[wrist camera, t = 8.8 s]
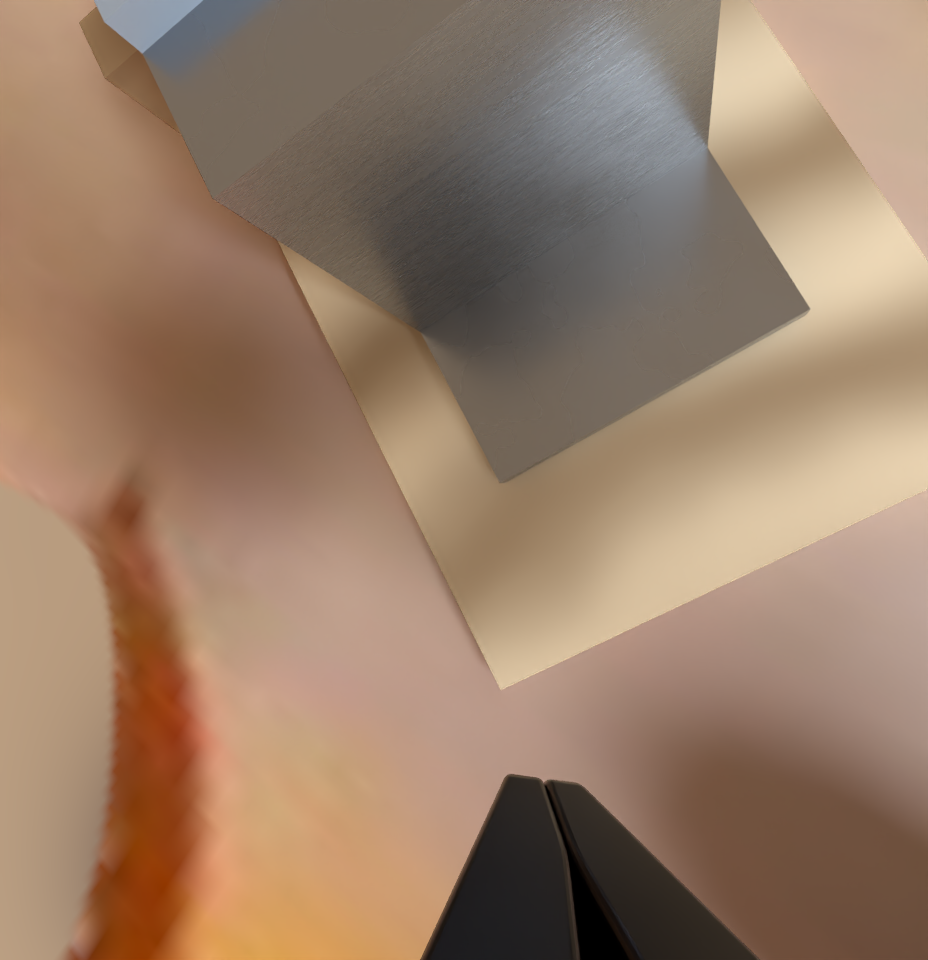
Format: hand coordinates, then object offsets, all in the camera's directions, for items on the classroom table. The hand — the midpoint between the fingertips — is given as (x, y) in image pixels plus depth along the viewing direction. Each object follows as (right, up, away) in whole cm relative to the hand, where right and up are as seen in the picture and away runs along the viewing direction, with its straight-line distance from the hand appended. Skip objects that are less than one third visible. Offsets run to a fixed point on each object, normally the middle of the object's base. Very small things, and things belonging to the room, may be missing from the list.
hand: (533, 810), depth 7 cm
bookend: (+2, +9, +12) cm, 15 cm away
